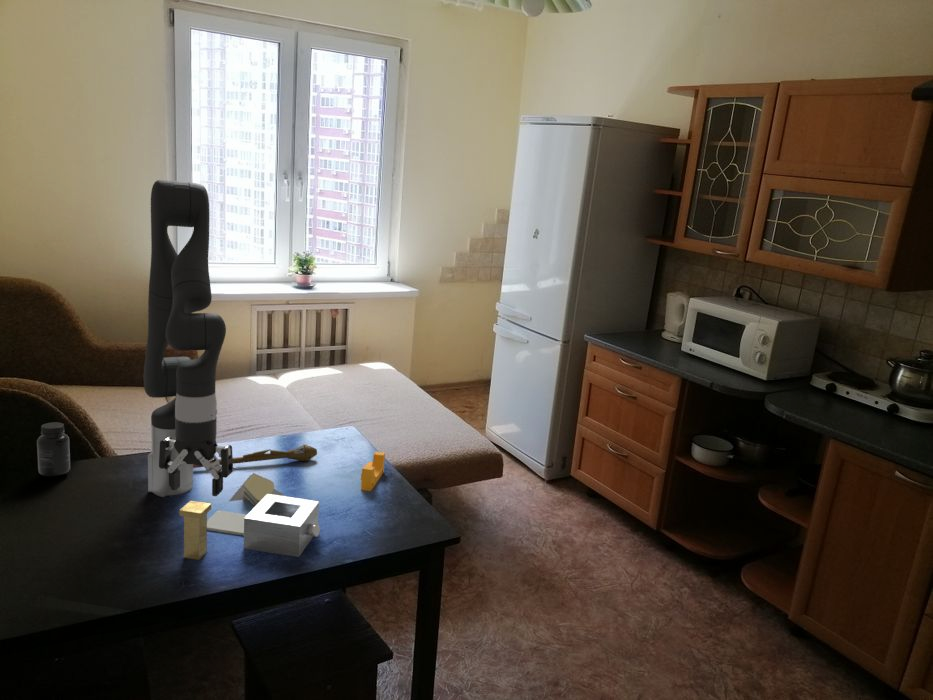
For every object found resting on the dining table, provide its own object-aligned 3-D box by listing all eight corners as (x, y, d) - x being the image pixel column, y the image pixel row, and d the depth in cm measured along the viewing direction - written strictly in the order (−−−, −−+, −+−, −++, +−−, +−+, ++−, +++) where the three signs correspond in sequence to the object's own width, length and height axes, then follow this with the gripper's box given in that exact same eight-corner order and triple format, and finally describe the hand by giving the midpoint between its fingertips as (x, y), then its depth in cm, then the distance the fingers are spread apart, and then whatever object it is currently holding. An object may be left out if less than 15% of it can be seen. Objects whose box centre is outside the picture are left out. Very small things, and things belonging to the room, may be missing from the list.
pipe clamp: (367, 472, 192) (369, 450, 191) (383, 475, 192) (385, 452, 190) (354, 491, 181) (355, 467, 179) (370, 493, 180) (372, 470, 178)
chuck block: (243, 548, 149) (244, 518, 147) (266, 522, 161) (267, 493, 159) (308, 558, 148) (309, 527, 146) (326, 531, 159) (327, 502, 157)
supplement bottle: (76, 471, 176) (74, 425, 174) (48, 479, 171) (45, 432, 168) (60, 463, 180) (58, 418, 177) (32, 471, 174) (30, 425, 171)
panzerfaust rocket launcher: (179, 471, 185) (178, 454, 184) (314, 456, 198) (314, 440, 197) (180, 479, 181) (178, 461, 179) (318, 463, 194) (318, 446, 193)
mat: (200, 528, 155) (200, 526, 155) (217, 512, 163) (218, 510, 163) (244, 535, 154) (244, 533, 154) (259, 518, 162) (259, 516, 162)
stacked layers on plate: (228, 501, 169) (230, 490, 165) (250, 474, 175) (253, 463, 171) (263, 523, 168) (266, 512, 164) (285, 495, 174) (288, 484, 171)
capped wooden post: (179, 558, 143) (179, 510, 141) (190, 547, 147) (190, 500, 145) (200, 562, 143) (200, 513, 140) (210, 551, 147) (211, 503, 144)
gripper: (150, 415, 135) (151, 494, 139) (222, 425, 134) (221, 504, 137) (171, 404, 142) (172, 479, 146) (239, 413, 141) (238, 488, 145)
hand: (196, 491), depth 142 cm, fingers open, 8 cm apart
